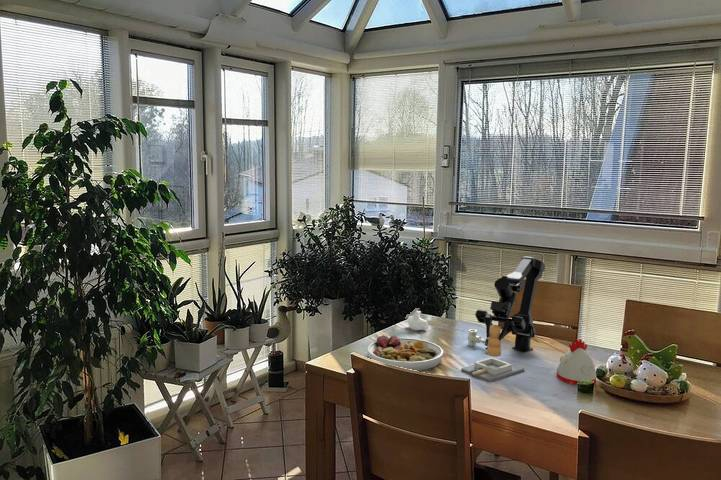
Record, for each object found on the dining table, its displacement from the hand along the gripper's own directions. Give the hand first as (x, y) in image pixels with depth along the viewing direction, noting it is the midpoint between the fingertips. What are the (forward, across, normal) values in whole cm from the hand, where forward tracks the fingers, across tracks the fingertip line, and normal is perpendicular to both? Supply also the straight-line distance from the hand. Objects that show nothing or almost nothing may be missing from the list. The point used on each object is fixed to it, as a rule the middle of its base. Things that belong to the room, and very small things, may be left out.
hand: (493, 338), depth 227 cm
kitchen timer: (0, +28, +19) cm, 34 cm away
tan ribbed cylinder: (+4, 0, +6) cm, 7 cm away
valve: (-8, -16, +27) cm, 33 cm away
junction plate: (+8, 0, +10) cm, 13 cm away
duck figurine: (-12, -50, +32) cm, 61 cm away
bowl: (+16, -33, +3) cm, 37 cm away
